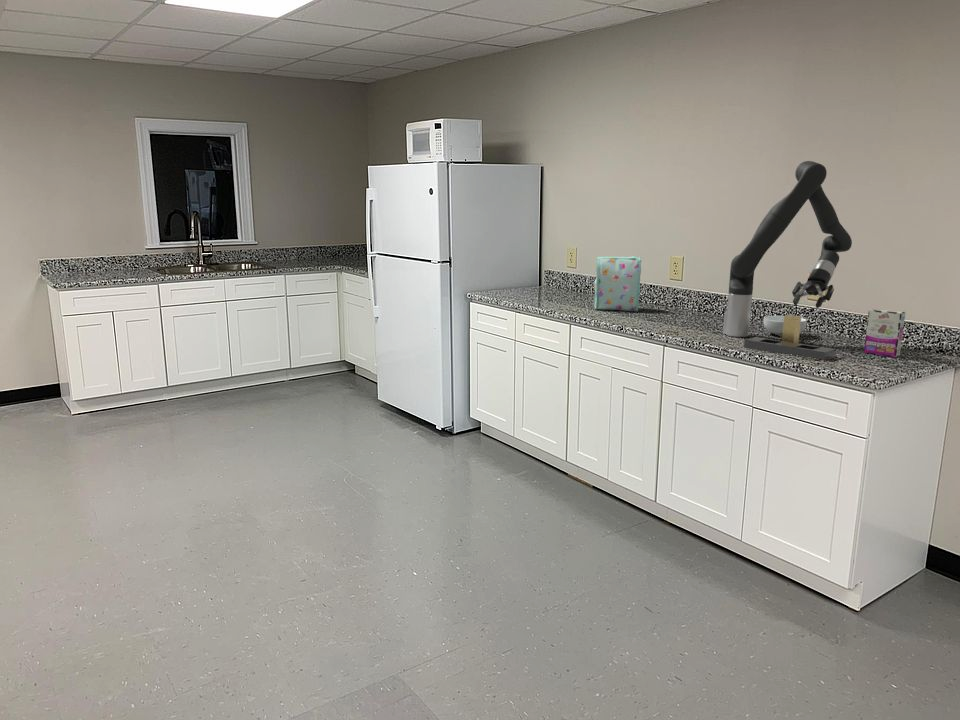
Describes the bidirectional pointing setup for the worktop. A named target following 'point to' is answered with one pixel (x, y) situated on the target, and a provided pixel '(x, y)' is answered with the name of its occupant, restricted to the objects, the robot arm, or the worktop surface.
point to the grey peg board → (789, 348)
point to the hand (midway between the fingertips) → (805, 305)
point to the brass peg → (791, 328)
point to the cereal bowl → (779, 324)
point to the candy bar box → (884, 332)
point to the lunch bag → (617, 283)
